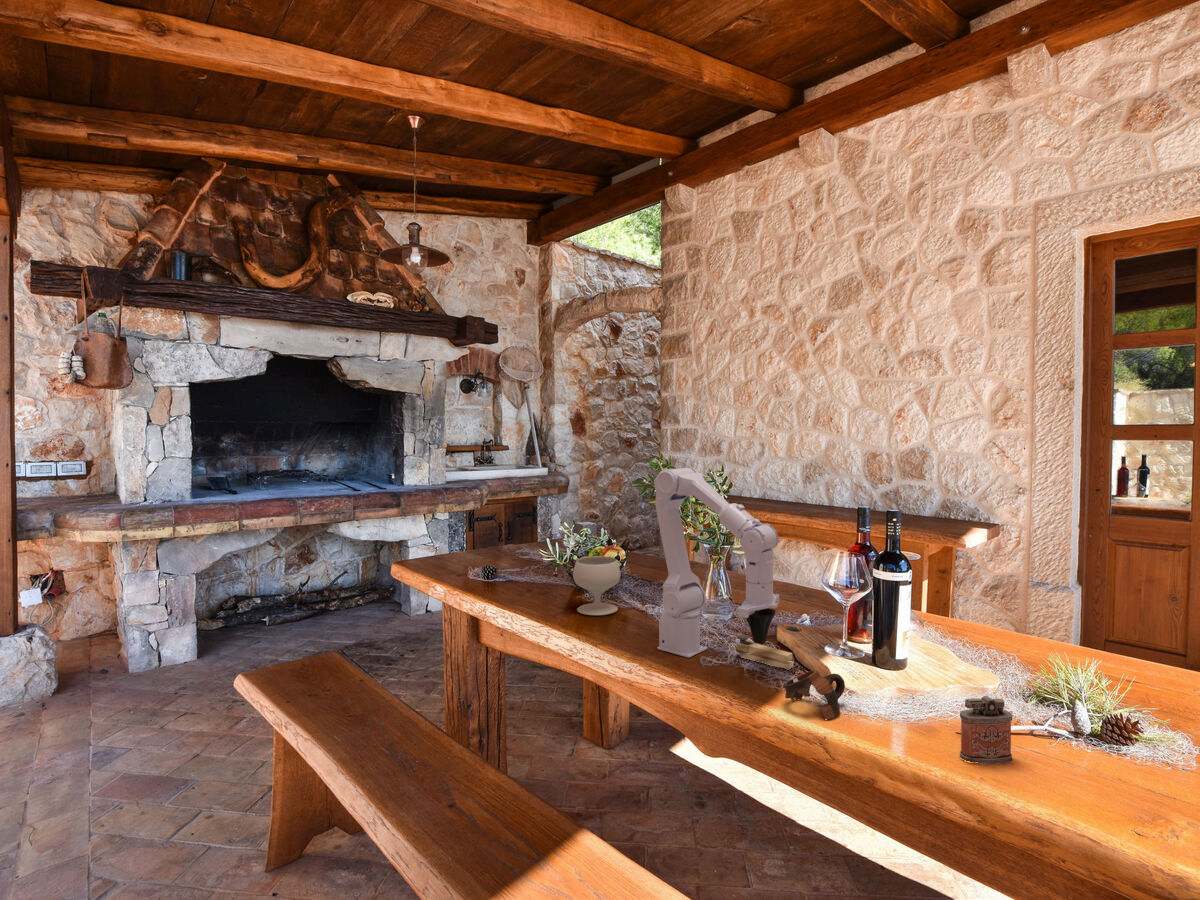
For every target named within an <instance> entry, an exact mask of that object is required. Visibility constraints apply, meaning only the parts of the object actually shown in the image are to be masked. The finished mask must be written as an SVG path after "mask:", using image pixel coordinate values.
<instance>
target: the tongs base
mask: <svg viewBox="0 0 1200 900" xmlns="http://www.w3.org/2000/svg"><path fill="white" fill-rule="evenodd" d="M737 639H738V640H739V643H741V644H745V645H746V640H749V636H748V635H747V634H746V635H745V634H739V635H737ZM735 651H736V652H737V653H738V654H739V658H740V657H741V658H747V659H751V660H755V661H759V662H763V663H766V664H770V665H773V666H777V667H781V668H785V669H788V670H789V669H790V668H791V667H793V666H794V664H795V663H794V661H793V660H790V661H788V662H784V661H780V660H777V659H773V658H769V657H766V656H762V655H759V654H755V653H751V652H744V651H740V650H737V647H736V649H735ZM741 658H740V659H741ZM789 671H790V670H789Z"/></svg>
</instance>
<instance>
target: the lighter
mask: <svg viewBox="0 0 1200 900" xmlns="http://www.w3.org/2000/svg"><path fill="white" fill-rule="evenodd" d="M964 707H966V708H967V709H964V710H960V711H959V717H960V719H961V720H960V722H961V723H960V732H961V733H960V734H961V735H960V737H961V738H960V743H961V744H960V751H959V758H960V757H961V758H962V759H964V760H966V761H970V762H978V763H983V764H982V765H1001V764H1006V763H1007V764H1008V763H1012V761H1013V754H1012V751H1011V750H1012V748H1011V747H1012V746H1011V745H1012V721H1013V713H1012V712H1010V711H1008V710H1005V709H1004V708H1005V700H1004V699H1003V698H999V697H998V698H991V697H990V696H988V695H983V696H982V697H981V698H979V697H978V698H977V697H976V698H975V697H974V698H972V697H971V698H966V699H965V700H964ZM984 763H985V764H984Z"/></svg>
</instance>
